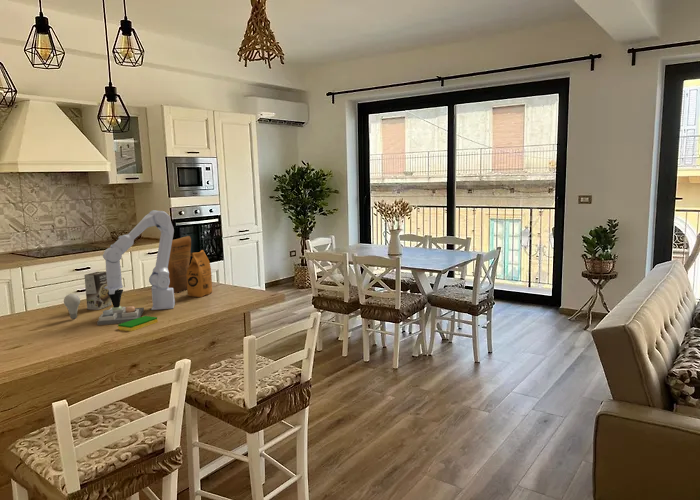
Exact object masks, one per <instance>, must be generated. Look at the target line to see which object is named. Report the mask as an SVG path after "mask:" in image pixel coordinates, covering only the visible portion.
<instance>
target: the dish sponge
mask: <svg viewBox="0 0 700 500" xmlns="http://www.w3.org/2000/svg"><path fill="white" fill-rule="evenodd" d="M157 323H158V317H156V316H149V315H144V316H141V317H140V318H137V319H134V320H131V321H128V322H125V323H119V324H118V325H117V327H118V328H117V329H118V330H119V331H125V332H134V331H135V330H139V329H140V330H141V329H142V328H146V327H148V326H150V325H153V324H157Z"/></svg>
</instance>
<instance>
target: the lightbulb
mask: <svg viewBox="0 0 700 500" xmlns="http://www.w3.org/2000/svg"><path fill="white" fill-rule="evenodd" d="M80 303H81V298H80V296H79V295H78V294H76V293H68V294H66V296H65V297H64V298H63V304H64V306H65V307H66V309H67V310H68V314H69V317H70V319H72V320H75V319H77V318H78V308H79V305H80Z"/></svg>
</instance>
